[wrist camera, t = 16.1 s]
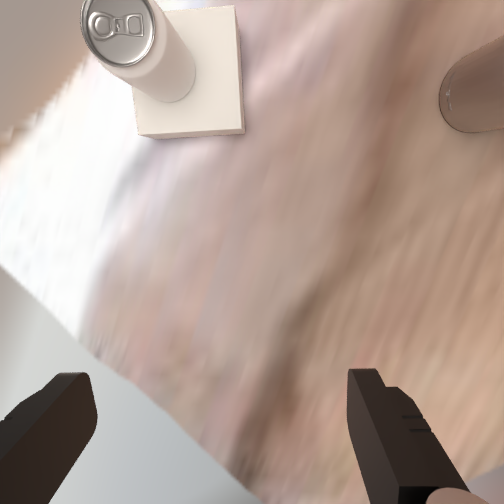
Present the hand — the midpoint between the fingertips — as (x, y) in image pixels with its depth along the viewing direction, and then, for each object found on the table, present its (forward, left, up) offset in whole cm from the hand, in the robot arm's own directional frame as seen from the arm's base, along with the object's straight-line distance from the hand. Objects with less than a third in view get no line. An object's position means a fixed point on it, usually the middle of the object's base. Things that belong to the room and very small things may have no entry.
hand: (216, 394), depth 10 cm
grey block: (+7, -17, -36) cm, 41 cm away
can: (+9, -17, -30) cm, 36 cm away
